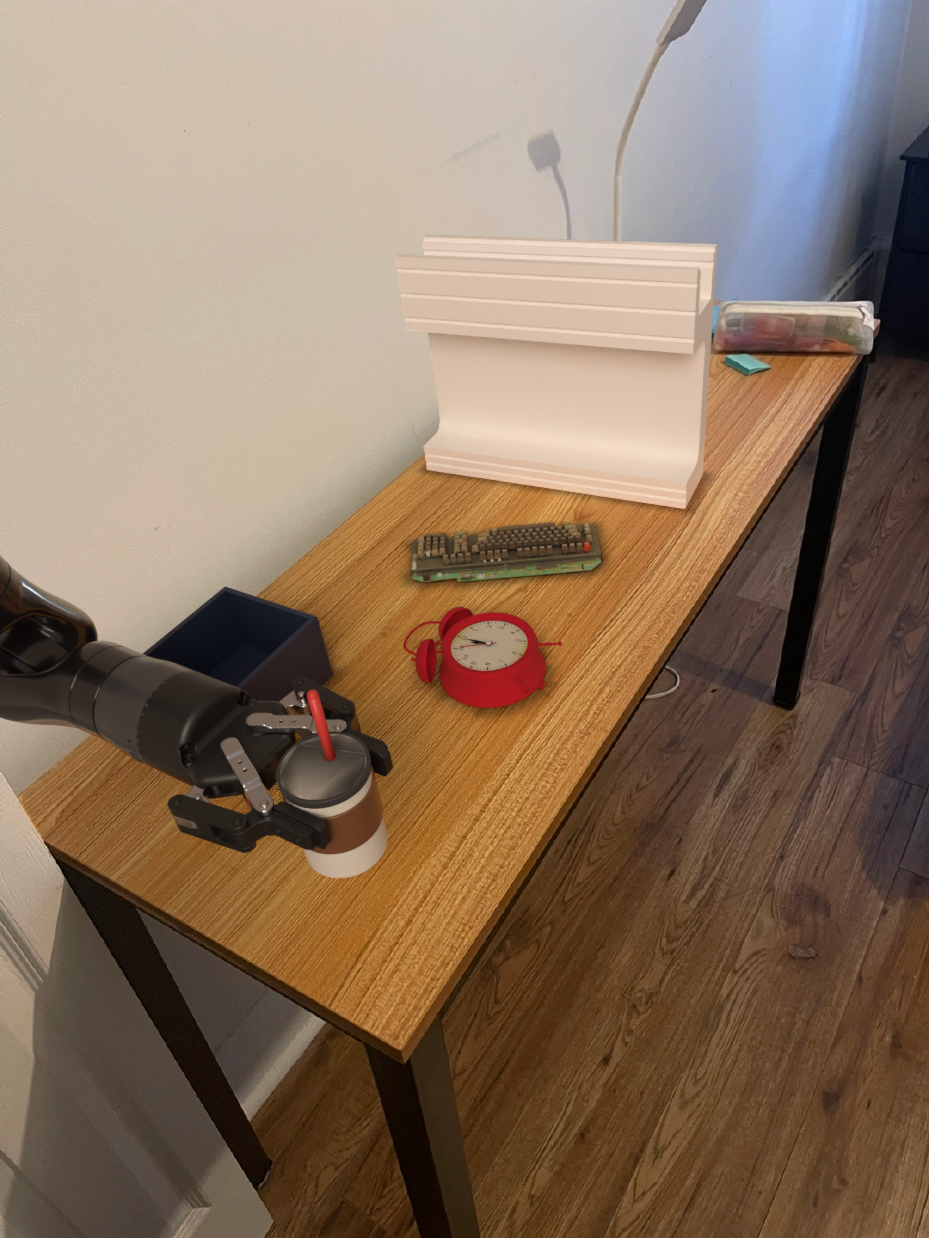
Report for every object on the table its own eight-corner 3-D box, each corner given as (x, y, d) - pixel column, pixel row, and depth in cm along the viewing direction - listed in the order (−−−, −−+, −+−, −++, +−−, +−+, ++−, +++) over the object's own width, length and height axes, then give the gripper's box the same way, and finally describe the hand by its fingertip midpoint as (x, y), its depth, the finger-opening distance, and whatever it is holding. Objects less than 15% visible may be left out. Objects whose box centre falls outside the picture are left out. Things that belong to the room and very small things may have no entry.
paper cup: (355, 894, 60) (310, 749, 51) (285, 859, 63) (231, 716, 54) (407, 827, 64) (373, 682, 55) (338, 797, 67) (296, 655, 58)
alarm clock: (524, 698, 81) (382, 629, 85) (515, 740, 86) (380, 673, 90) (572, 628, 88) (438, 568, 92) (561, 671, 92) (434, 612, 97)
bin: (253, 756, 84) (231, 697, 80) (161, 716, 90) (135, 658, 85) (333, 674, 92) (317, 616, 87) (244, 642, 98) (225, 586, 93)
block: (702, 475, 114) (717, 244, 96) (685, 509, 108) (697, 270, 91) (453, 441, 128) (426, 234, 110) (426, 469, 122) (394, 256, 105)
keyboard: (595, 526, 108) (595, 512, 106) (605, 571, 101) (605, 556, 99) (412, 542, 109) (410, 528, 108) (409, 587, 102) (406, 573, 101)
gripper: (78, 749, 59) (272, 843, 52) (229, 622, 68) (413, 686, 61) (118, 823, 64) (301, 920, 56) (254, 694, 73) (427, 762, 65)
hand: (358, 798), depth 58 cm, fingers closed on paper cup, 6 cm apart
